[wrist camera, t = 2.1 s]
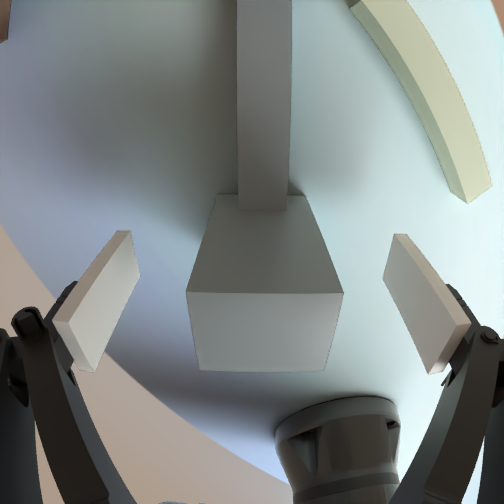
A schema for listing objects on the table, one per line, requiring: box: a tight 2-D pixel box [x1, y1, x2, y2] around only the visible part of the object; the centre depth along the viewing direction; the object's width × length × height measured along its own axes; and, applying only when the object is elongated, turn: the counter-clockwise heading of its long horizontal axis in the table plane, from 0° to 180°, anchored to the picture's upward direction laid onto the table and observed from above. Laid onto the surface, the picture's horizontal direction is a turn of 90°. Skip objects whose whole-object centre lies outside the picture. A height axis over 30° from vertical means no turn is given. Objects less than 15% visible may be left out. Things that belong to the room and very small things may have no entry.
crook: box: [186, 0, 344, 372], centre depth 10 cm, size 21×10×9 cm, turn 0°
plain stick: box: [350, 0, 493, 204], centre depth 13 cm, size 13×2×2 cm, turn 38°
